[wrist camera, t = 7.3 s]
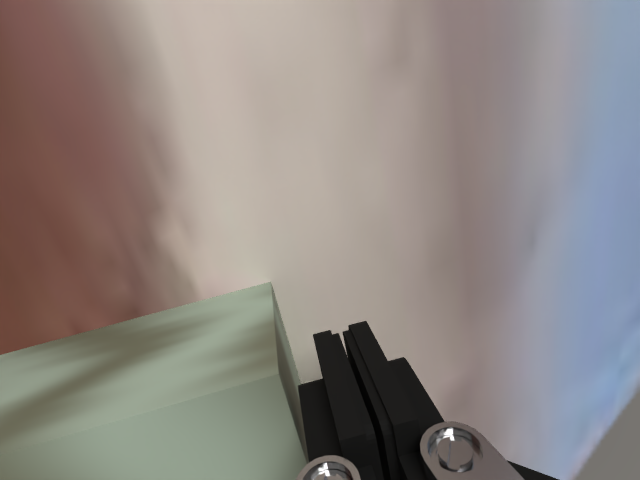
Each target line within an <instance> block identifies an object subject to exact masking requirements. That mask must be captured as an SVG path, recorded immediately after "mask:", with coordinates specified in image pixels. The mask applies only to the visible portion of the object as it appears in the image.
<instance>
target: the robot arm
mask: <svg viewBox="0 0 640 480" xmlns="http://www.w3.org/2000/svg"><path fill="white" fill-rule="evenodd" d="M348 327H349V330H348V331H344V332H343V336H344V341H345V346H346V351H347V355H346V352H345V349H344V347H343V344H342V341H341V339H340V336H339V333H336V334H333V335H332V333H331V331H330V330H328V331H325V332H321V333H317V334H313V337H314V342H315V346H316V350H317V355H318V359H319V363H320V368H321V372H322V376H323V379H320V380H316V381H313V382H309V383H305V384H301V385H298V392H299V399H300V405H301V412H302V419H303V426H304V433H305V439H306V446H307V453H308V460H309V463H308V464H307V465H306V466H305V467H304V468H303V469H302V470H301V471H300V472H299V474H298V476H297V478H296V480H559V479H556V478H553V477H550V476H548V475H545V474H542V473H540V472H537V471H534V470H531V469H529V468H526V467H523V466H521V465H518V464H515V463H512V462H510V461H507V460H506V459H505V458H504V457H503V456H502V455H501V454H500V453H499V452H498V451H497V450H496V449H495V448H494V447H493V446H492V445H491V444H490V442H489V441H488V440H487V439H486V438H485V437H484V436H483V435H482V434H481V433H479V432H478V431H477V430H476V429H474V428H472V427H470V426H468V425H466V424H463V423H458V422H445V421H444V420H443V418H442V417H441V415H440V413H439V412H438V410H437V408H436V407H435V405H434V404H433V402H432V400H431V399H430V397H429V395H428V394H427V392H426V391H425V389H424V387H423V386H422V384H421V382H420V381H419V379H418V378H417V376H416V374H415V373H414V371H413V369H412V368H411V366H410V365H409V363H408V361H407V360H406V359H405V358H404V357H402V358H399V359H395V360H391V361H387V359H386V357H385V355H384V353H383V351H382V349H381V348H380V346H379V344H378V342H377V340H376V338H375V336H374V334H373V333H372V331H371V329H370V327H369V325H368V323H367V322H366V321H363V322H359V323H356V324H352V325H349V326H348ZM347 356H348V357H347Z"/></svg>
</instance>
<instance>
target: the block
mask: <svg viewBox="0 0 640 480" xmlns="http://www.w3.org/2000/svg"><path fill="white" fill-rule="evenodd" d="M298 385H301V382H300V379H299V376H298V372H297V369H296V365H295V362H294V359H293V355H292V352H291V348H290V345H289V341H288V338H287V335H286V331H285V328H284V324H283V321H282V318H281V314H280V311H279V307H278V304H277V301H276V297H275V294H274V290H273V287H272V284H271V282H268V283H264V284H261V285H257V286H253V287H250V288H246V289H242V290H239V291H235V292H231V293H228V294H224V295H220V296H216V297H213V298H209V299H205V300H202V301H198V302H194V303H191V304H187V305H183V306H180V307H176V308H172V309H169V310H165V311H161V312H158V313H154V314H150V315H146V316H143V317H139V318H135V319H132V320H128V321H124V322H121V323H117V324H113V325H110V326H106V327H102V328H99V329H95V330H91V331H88V332H84V333H80V334H76V335H73V336H69V337H65V338H62V339H58V340H54V341H51V342H47V343H43V344H40V345H36V346H32V347H29V348H25V349H21V350H18V351H14V352H10V353H6V354H3V355H0V480H296V478H297V476H298V474H299V472H300V471H301V470H302V469H303V468H304V467H305V466H306V465H307V464H308V463H309V460H308V453H307V446H306V439H305V433H304V426H303V419H302V412H301V405H300V399H299V392H298Z"/></svg>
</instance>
